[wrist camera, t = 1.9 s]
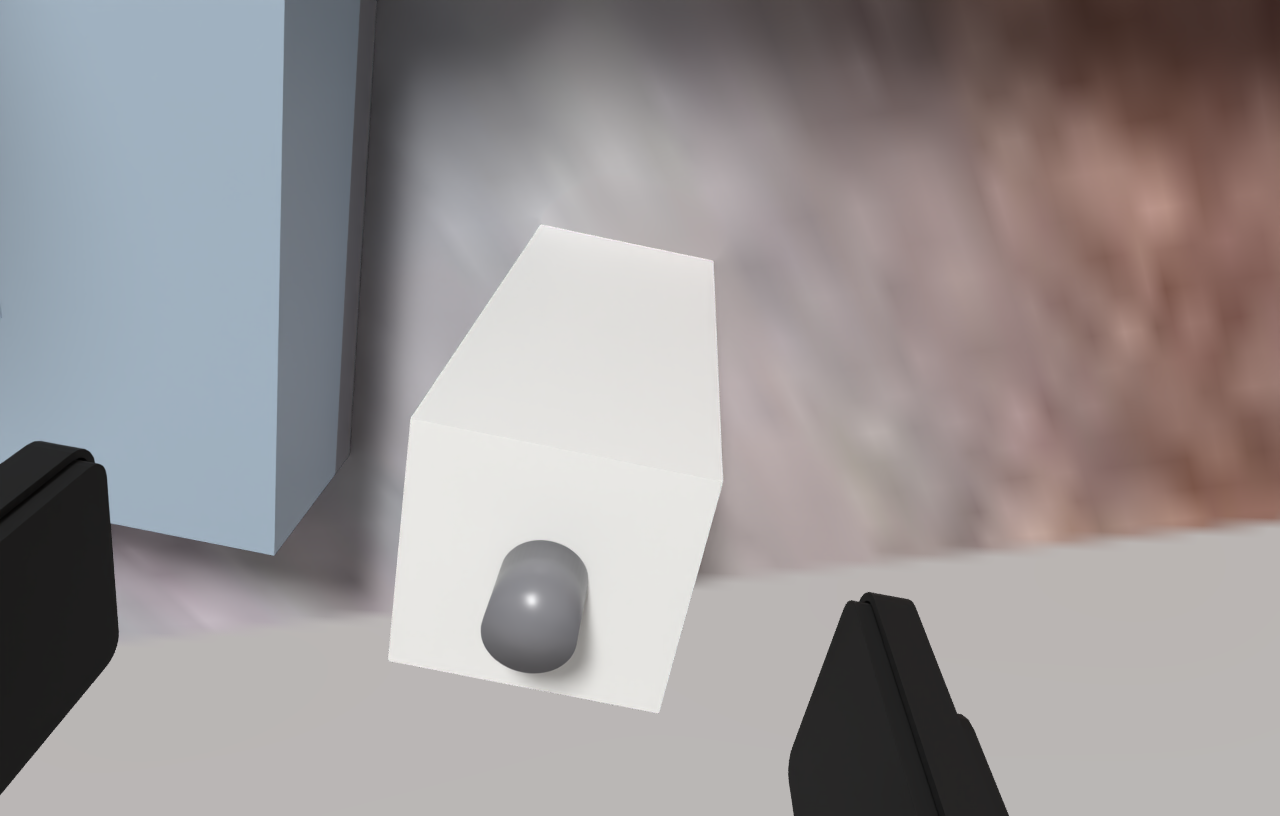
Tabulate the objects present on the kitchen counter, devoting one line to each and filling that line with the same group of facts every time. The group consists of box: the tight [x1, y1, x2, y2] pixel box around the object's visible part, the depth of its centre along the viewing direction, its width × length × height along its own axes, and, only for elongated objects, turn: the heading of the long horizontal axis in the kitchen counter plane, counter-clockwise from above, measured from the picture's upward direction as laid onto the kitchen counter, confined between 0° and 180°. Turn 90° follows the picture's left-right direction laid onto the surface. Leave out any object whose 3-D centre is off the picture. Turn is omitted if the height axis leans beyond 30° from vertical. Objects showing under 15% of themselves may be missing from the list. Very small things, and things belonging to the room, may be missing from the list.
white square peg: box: [388, 224, 723, 714], centre depth 16 cm, size 4×4×11 cm
